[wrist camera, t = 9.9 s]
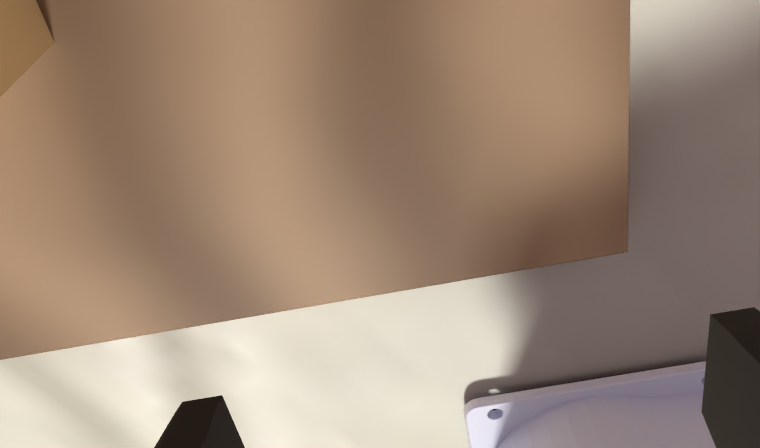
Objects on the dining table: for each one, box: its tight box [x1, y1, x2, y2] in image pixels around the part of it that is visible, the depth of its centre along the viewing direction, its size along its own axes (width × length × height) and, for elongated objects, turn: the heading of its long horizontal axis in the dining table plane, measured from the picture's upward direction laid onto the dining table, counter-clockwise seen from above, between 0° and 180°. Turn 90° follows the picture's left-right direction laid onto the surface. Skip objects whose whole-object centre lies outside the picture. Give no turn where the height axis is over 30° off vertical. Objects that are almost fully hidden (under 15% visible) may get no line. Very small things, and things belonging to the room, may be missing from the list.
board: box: [0, 0, 630, 360], centre depth 16 cm, size 22×16×2 cm
